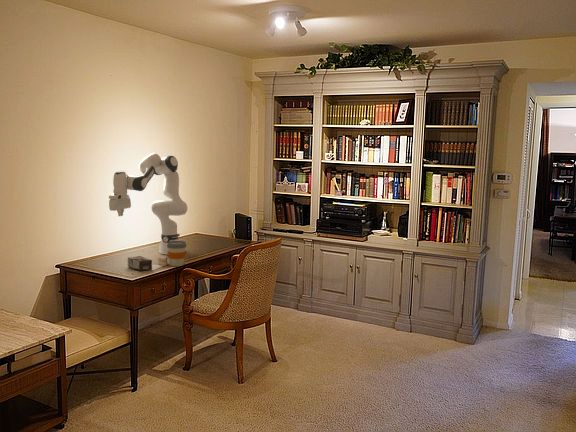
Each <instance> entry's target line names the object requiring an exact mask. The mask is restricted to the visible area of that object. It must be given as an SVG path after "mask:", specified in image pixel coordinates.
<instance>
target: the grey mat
mask: <svg viewBox="0 0 576 432" xmlns="http://www.w3.org/2000/svg"><path fill="white" fill-rule="evenodd" d="M162 267H164V265H158V264H153V263H152V269H151V270H150V271H155V270H158V269H160V268H162Z"/></svg>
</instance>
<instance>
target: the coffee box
mask: <svg viewBox="0 0 576 432" xmlns="http://www.w3.org/2000/svg"><path fill="white" fill-rule="evenodd" d="M152 264H153V259H150V258H147V257H144V256H142V255H137V256H136V255H135V256H128V257H127V267H128V268H130V269H134V270H135V271H138V272H144V271H152V270H151V269H152Z"/></svg>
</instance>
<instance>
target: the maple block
mask: <svg viewBox="0 0 576 432" xmlns="http://www.w3.org/2000/svg"><path fill="white" fill-rule="evenodd" d="M157 265H163V266H167V265H168V256H159V257H158V258H157Z"/></svg>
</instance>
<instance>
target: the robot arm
mask: <svg viewBox="0 0 576 432" xmlns="http://www.w3.org/2000/svg"><path fill="white" fill-rule="evenodd" d="M178 162H179V161H178V159H177V158H176V157H175V156H174V155H167V156H164V157H162V158H161V156H160V155H159V154H157V152H155V153H154V152H153V153H152V152H151V153H150V154H148V155H146V156H145V157H144V158H143V159H142V160H140V162H139V164H138V169H139V170H140V172H141V173H142V175H140V176H139V175H137V176H135V175H130V174H128V173H127V172H126V171H125V170H118V171H115V172H114V174H113V178H112V179H113V180H112V183H113V191H112V193H111V194H109V196H108V199H109V200H108V201H109V202H108V205H109V206H108V207H109V211H110V212H111V211H113V212H115V211H116V212H117V215H118V216H117V217H122V216H124V212H125V210H126V209H130V208H131V206H132V203H131V198H130V195H129V194H128V191H137V192H143V191H144V190H145V189H146V188H147V186H148V184H149V182H150V181H151V179H152V178H153V176H154V175H156V176H162V175H164V180H163V191H162V192H163V195H164V196H165V197H166V198H168V199H170V200H161V199H160V200H155V201H153V203H152V205H151V212H152V213H153V215H155V216H156V217H157V218H158V219H159V222H160V224H161V225H160V226H161V234H160V238H161V240H159V250H157V252H158V253H159V254H161V255H168V247H167V243H168V242H171V241H181V240H180V239H179V237H180V235H181V233H178V223H177V222H176V221H174V220H173V219H172V218H170V217H169V216H184V215H185V214H187V212H188V205H187V202H185V201H184V200H183V199H182V198H181V196H180V192H179V189H180V188H179V187H180V177H179V172H178V169H179V168H178V167H179V166H178Z"/></svg>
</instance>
